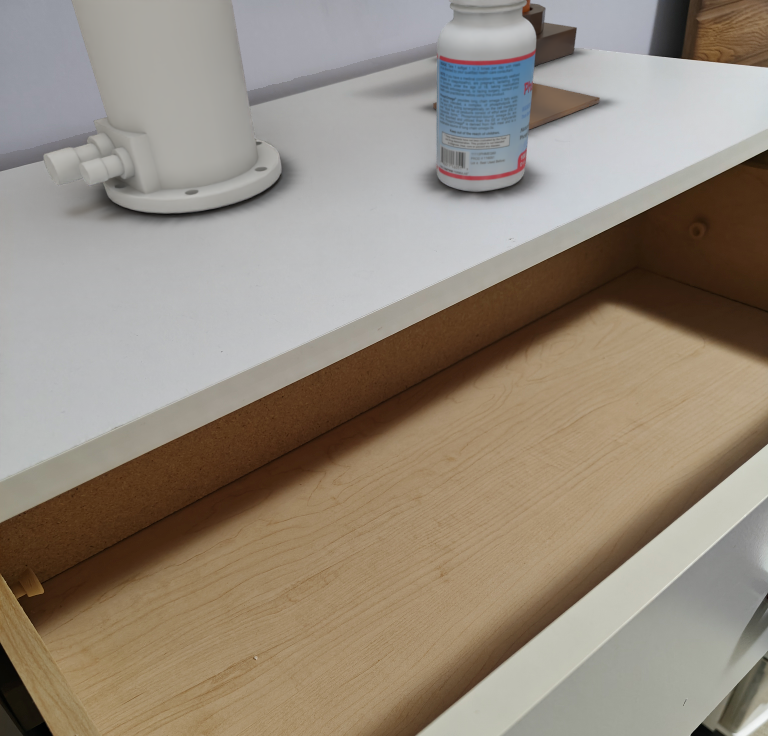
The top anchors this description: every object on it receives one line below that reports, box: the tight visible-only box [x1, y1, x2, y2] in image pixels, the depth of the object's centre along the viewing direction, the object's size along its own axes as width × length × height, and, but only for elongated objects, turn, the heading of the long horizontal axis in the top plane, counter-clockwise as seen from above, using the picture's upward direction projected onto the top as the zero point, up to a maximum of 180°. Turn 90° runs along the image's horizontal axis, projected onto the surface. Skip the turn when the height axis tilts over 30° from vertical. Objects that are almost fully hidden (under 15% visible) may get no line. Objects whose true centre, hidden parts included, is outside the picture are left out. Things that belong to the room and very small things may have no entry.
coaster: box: [432, 82, 601, 130], centre depth 58 cm, size 10×10×1 cm
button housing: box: [522, 2, 578, 67], centre depth 68 cm, size 10×9×4 cm
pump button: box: [522, 0, 531, 13], centre depth 66 cm, size 4×4×2 cm
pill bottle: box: [435, 0, 536, 192], centre depth 43 cm, size 6×6×11 cm
